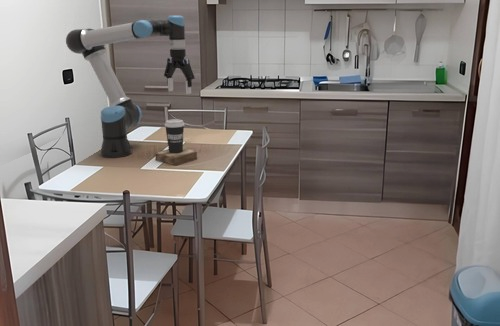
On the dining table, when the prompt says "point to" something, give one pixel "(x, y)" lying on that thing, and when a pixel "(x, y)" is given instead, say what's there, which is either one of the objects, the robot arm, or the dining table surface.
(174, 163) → the pedestal
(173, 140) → the coffee cup
